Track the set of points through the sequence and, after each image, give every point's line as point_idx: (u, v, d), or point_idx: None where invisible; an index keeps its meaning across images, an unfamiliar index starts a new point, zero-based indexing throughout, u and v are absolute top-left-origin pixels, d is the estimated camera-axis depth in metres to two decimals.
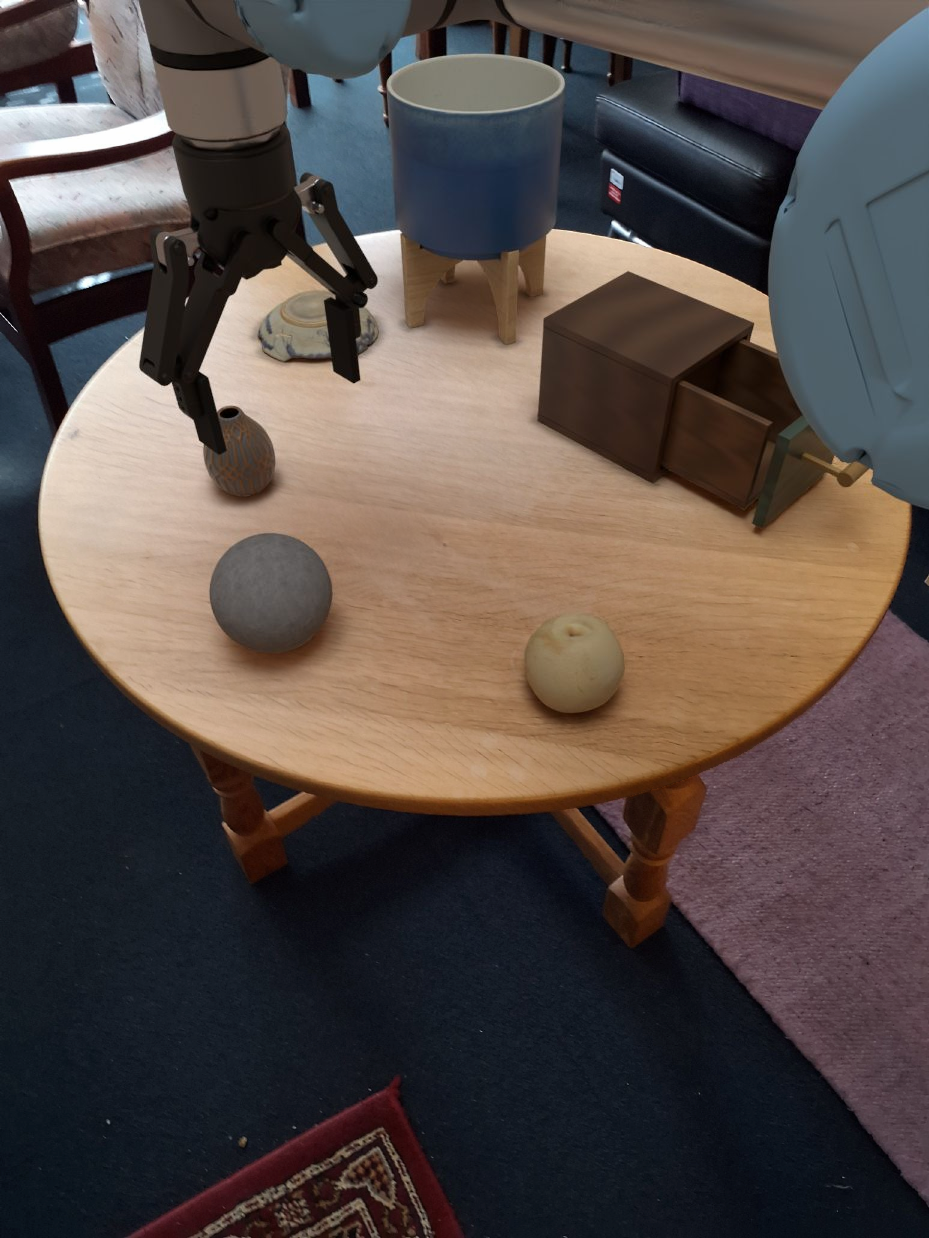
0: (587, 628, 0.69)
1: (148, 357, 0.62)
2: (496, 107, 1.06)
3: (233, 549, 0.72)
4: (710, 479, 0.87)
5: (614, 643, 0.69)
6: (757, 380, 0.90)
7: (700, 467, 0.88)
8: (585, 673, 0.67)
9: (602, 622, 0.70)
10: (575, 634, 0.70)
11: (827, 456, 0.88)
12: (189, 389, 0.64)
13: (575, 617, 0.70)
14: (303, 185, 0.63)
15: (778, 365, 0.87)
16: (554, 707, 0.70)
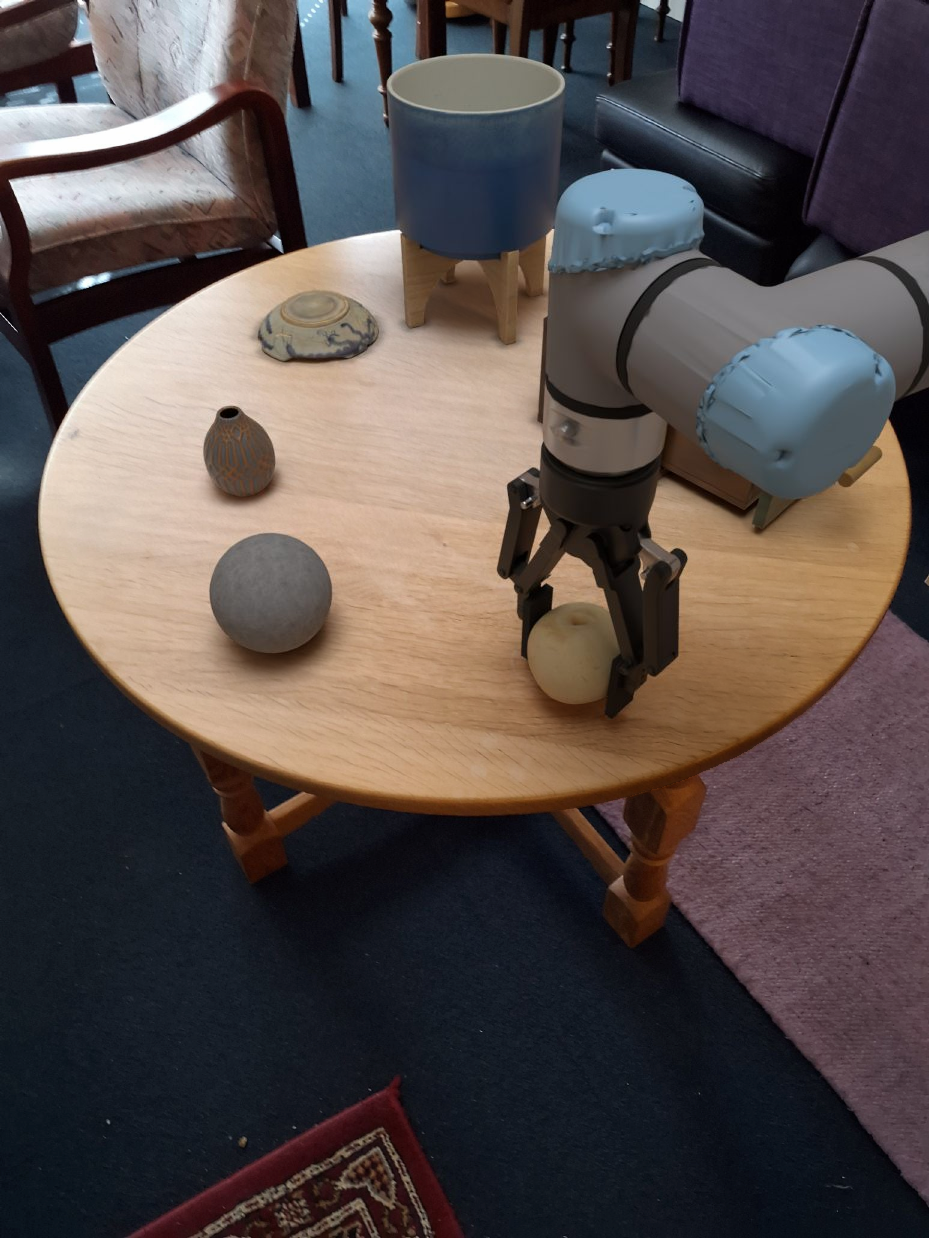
0: (591, 617, 0.68)
1: (666, 656, 0.62)
2: (496, 107, 1.06)
3: (233, 549, 0.72)
4: (710, 479, 0.87)
5: None
6: None
7: (700, 467, 0.88)
8: (590, 662, 0.66)
9: (606, 611, 0.69)
10: (579, 623, 0.69)
11: None
12: None
13: (579, 606, 0.69)
14: (534, 481, 0.62)
15: None
16: (558, 698, 0.69)
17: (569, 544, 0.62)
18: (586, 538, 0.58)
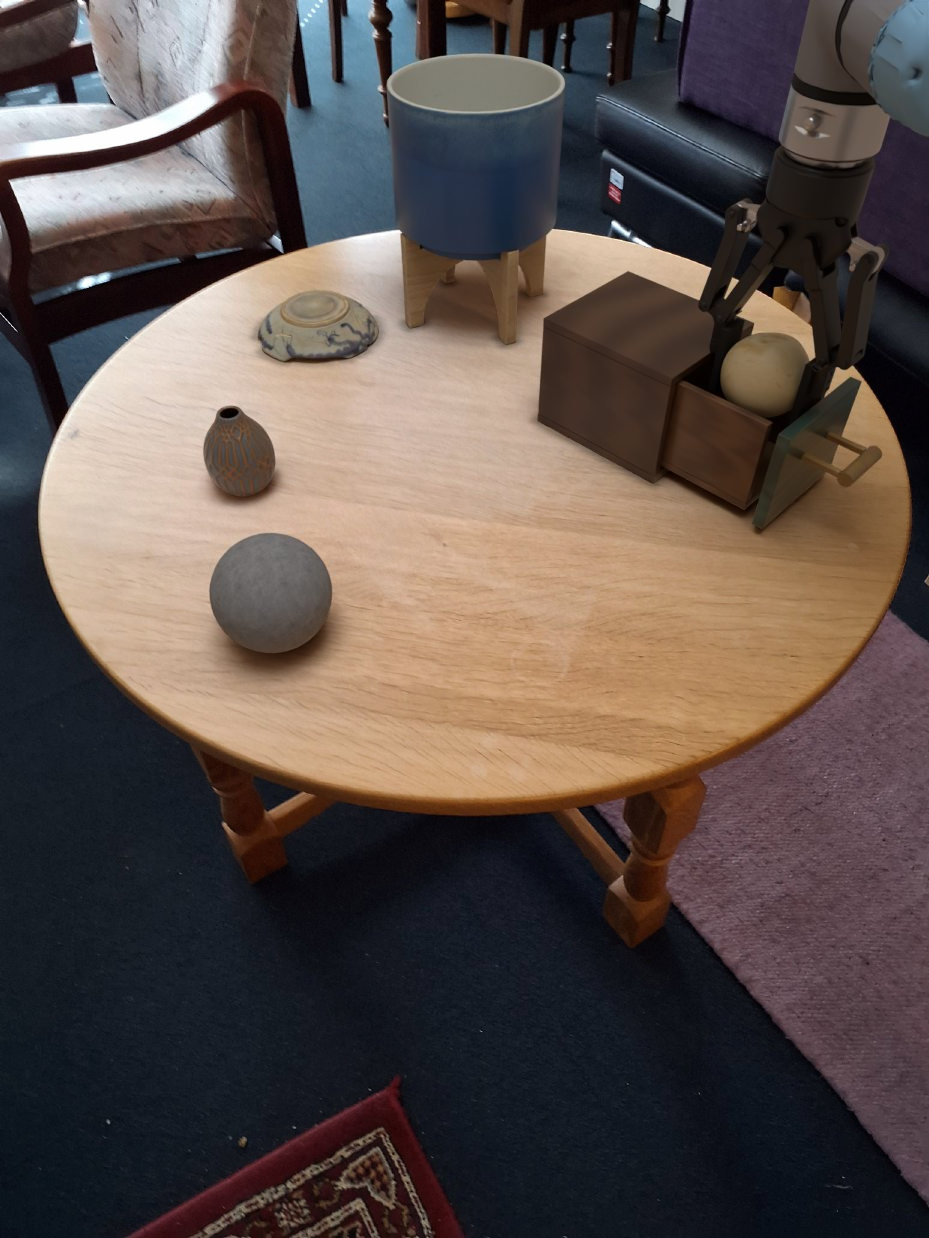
0: (781, 339, 0.81)
1: (857, 350, 0.75)
2: (496, 107, 1.06)
3: (234, 549, 0.72)
4: (710, 479, 0.87)
5: (804, 350, 0.81)
6: None
7: (700, 467, 0.88)
8: (784, 370, 0.79)
9: None
10: None
11: (827, 456, 0.88)
12: None
13: (768, 333, 0.82)
14: (750, 206, 0.75)
15: None
16: (751, 409, 0.82)
17: (780, 256, 0.75)
18: (803, 239, 0.72)
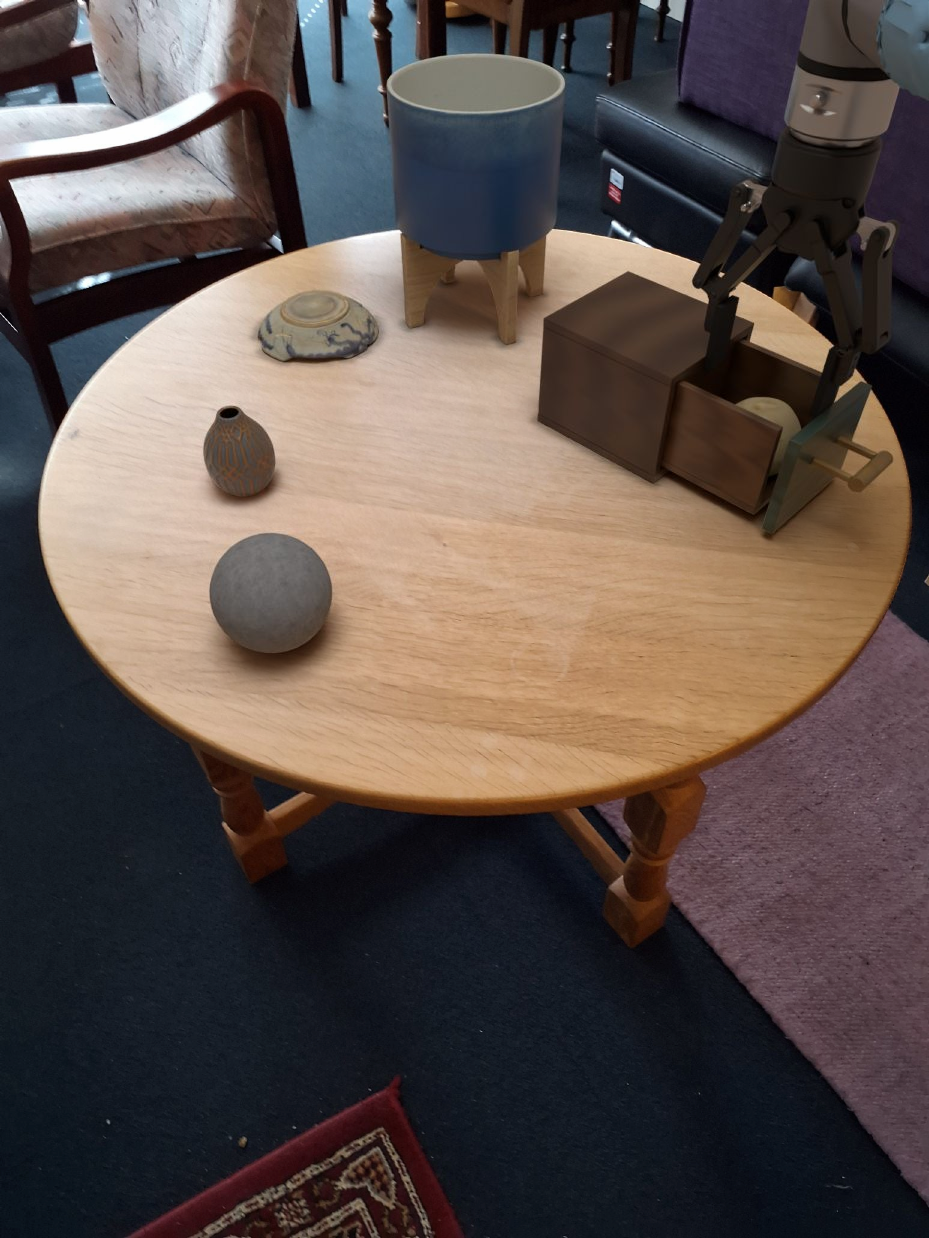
0: (773, 405, 0.86)
1: (882, 332, 0.73)
2: (496, 107, 1.06)
3: (234, 549, 0.72)
4: (719, 484, 0.87)
5: (795, 415, 0.85)
6: (766, 384, 0.89)
7: (709, 472, 0.87)
8: None
9: None
10: None
11: (837, 461, 0.88)
12: None
13: (760, 399, 0.87)
14: (756, 186, 0.74)
15: (788, 369, 0.86)
16: None
17: (786, 241, 0.73)
18: (809, 222, 0.70)
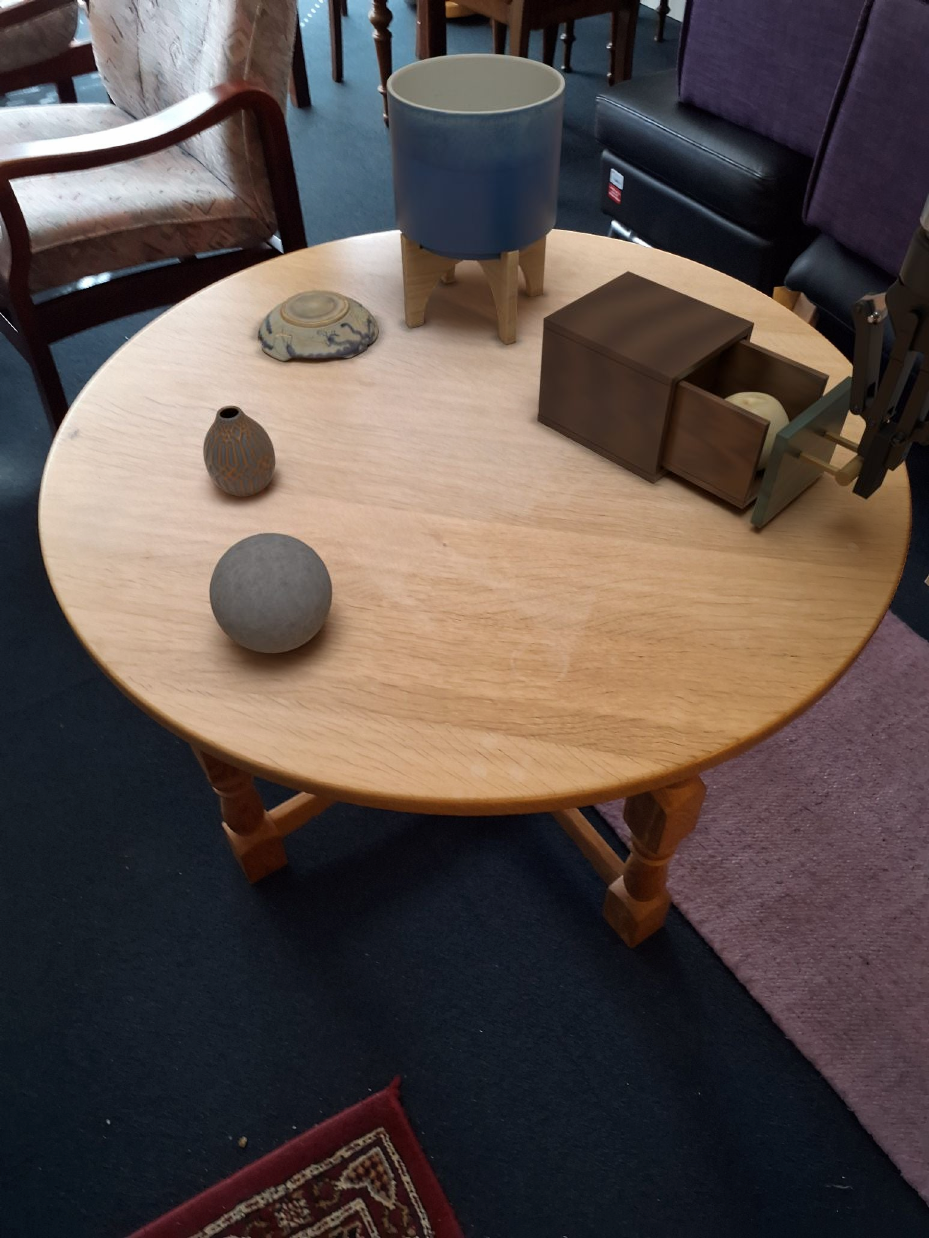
0: (761, 400, 0.86)
1: None
2: (496, 107, 1.06)
3: (234, 549, 0.72)
4: (708, 478, 0.88)
5: (784, 410, 0.86)
6: (755, 379, 0.90)
7: (698, 466, 0.88)
8: None
9: (771, 396, 0.87)
10: None
11: (825, 455, 0.88)
12: None
13: (749, 393, 0.87)
14: (875, 296, 0.72)
15: (776, 364, 0.87)
16: None
17: None
18: None
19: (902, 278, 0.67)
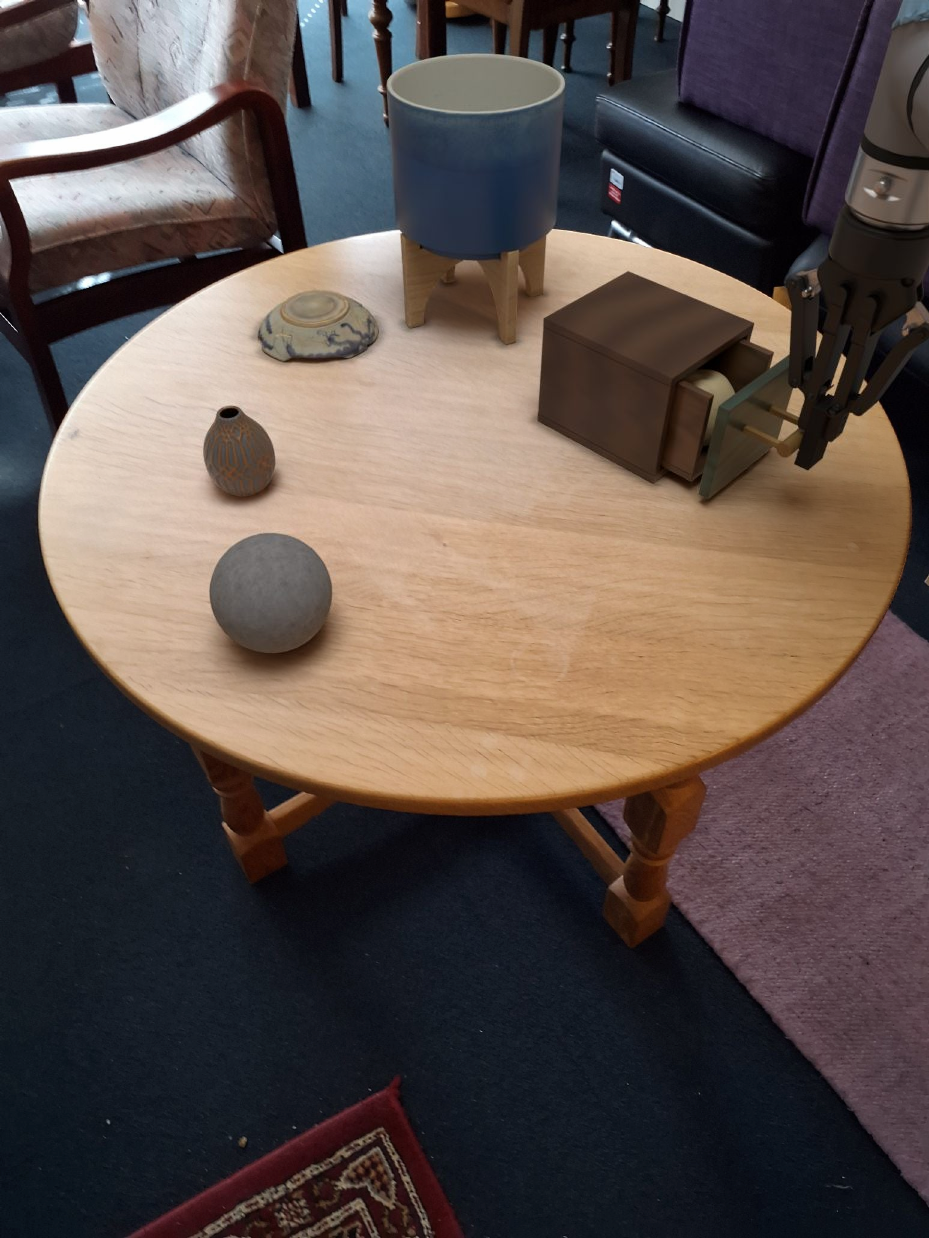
0: (709, 376, 0.89)
1: (874, 401, 0.77)
2: (496, 107, 1.06)
3: (234, 549, 0.72)
4: None
5: (730, 386, 0.89)
6: None
7: None
8: None
9: (719, 373, 0.90)
10: None
11: (772, 430, 0.91)
12: None
13: (698, 370, 0.90)
14: (808, 272, 0.75)
15: None
16: None
17: None
18: (870, 298, 0.70)
19: (830, 253, 0.70)
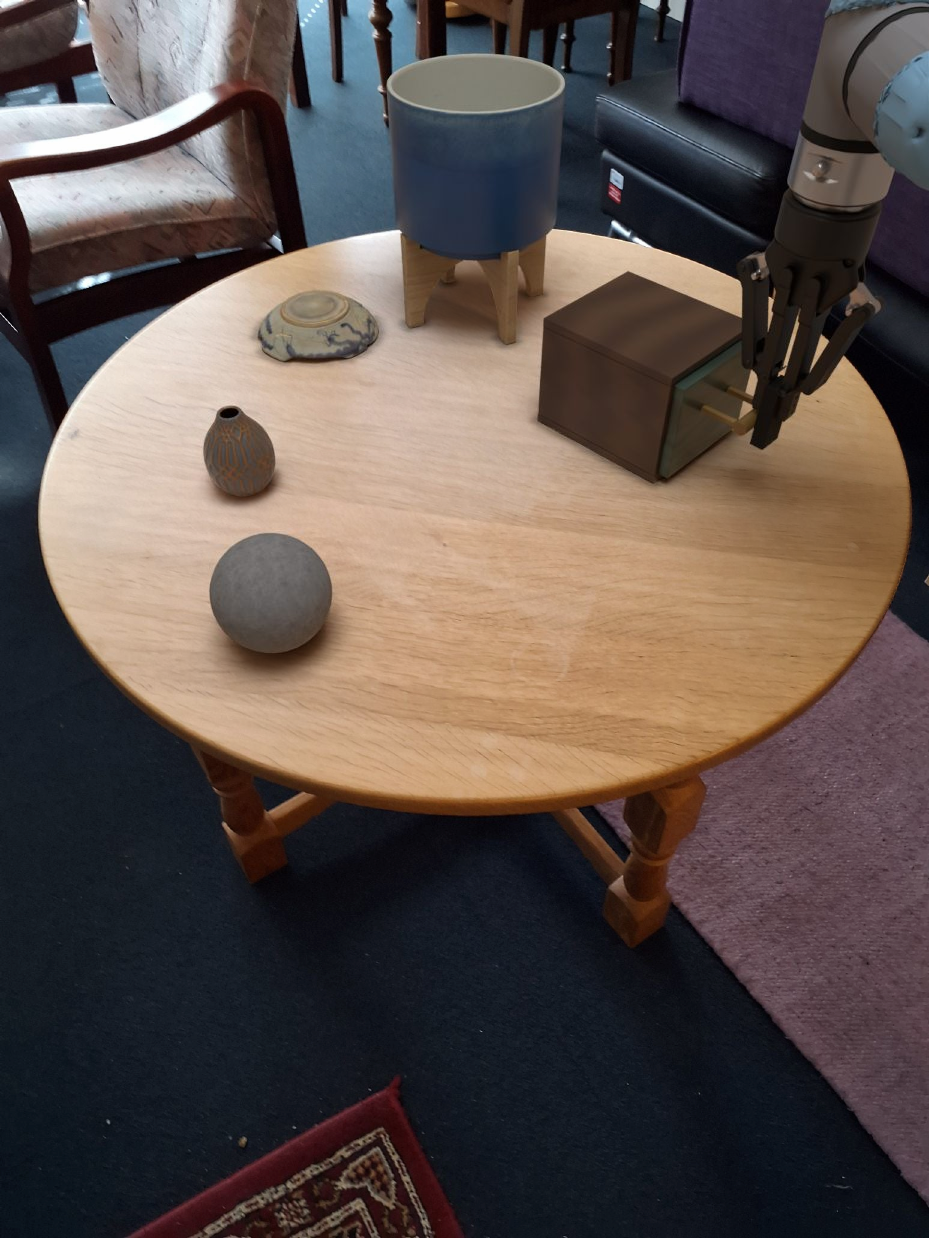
0: None
1: (823, 381, 0.79)
2: (496, 107, 1.06)
3: (234, 549, 0.72)
4: None
5: None
6: None
7: None
8: None
9: None
10: None
11: (732, 411, 0.93)
12: None
13: None
14: (757, 255, 0.77)
15: None
16: None
17: None
18: (814, 279, 0.73)
19: (775, 235, 0.73)
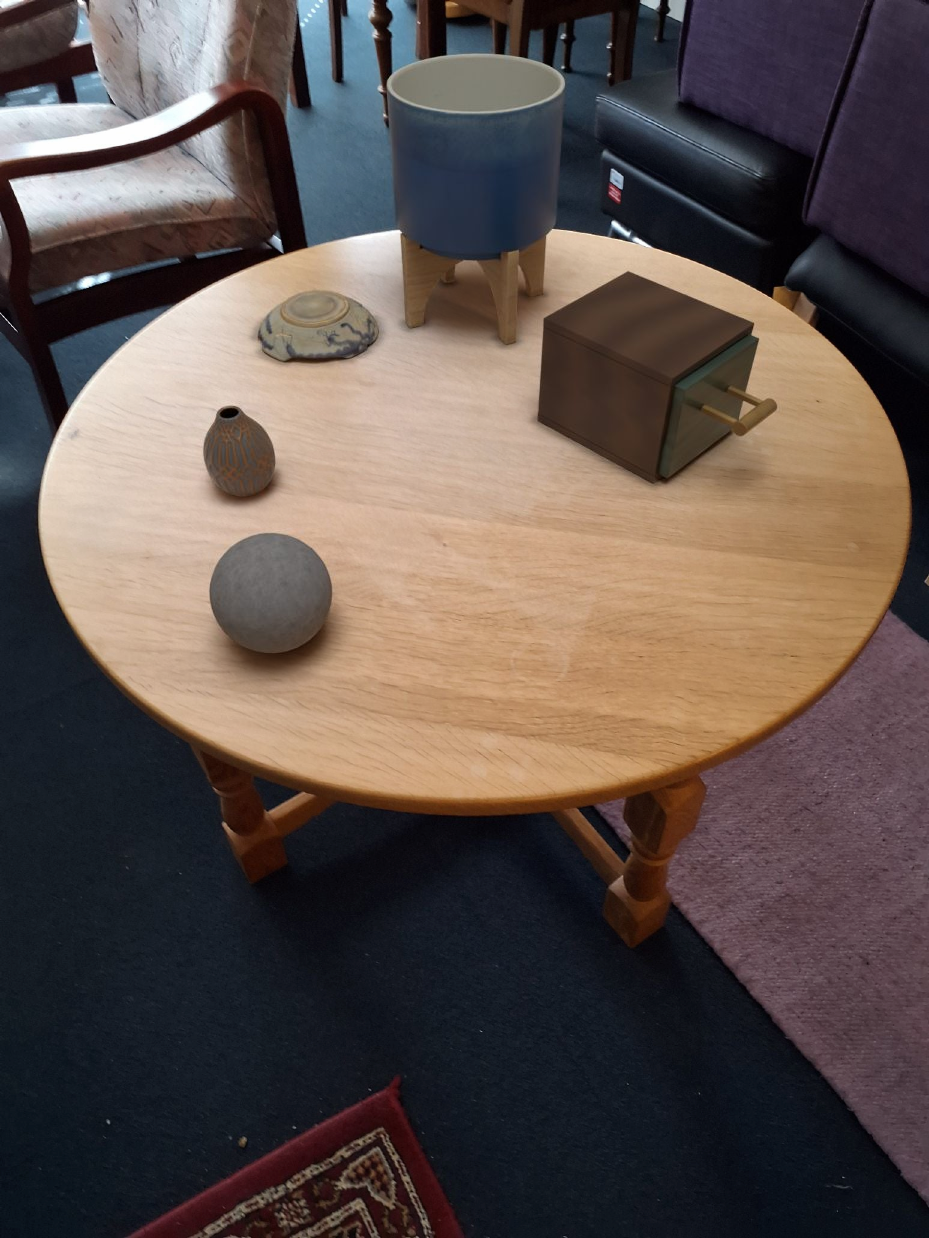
0: None
1: None
2: (496, 107, 1.06)
3: (234, 549, 0.72)
4: None
5: None
6: None
7: None
8: None
9: None
10: None
11: (732, 411, 0.93)
12: None
13: None
14: None
15: None
16: None
17: None
18: None
19: None
